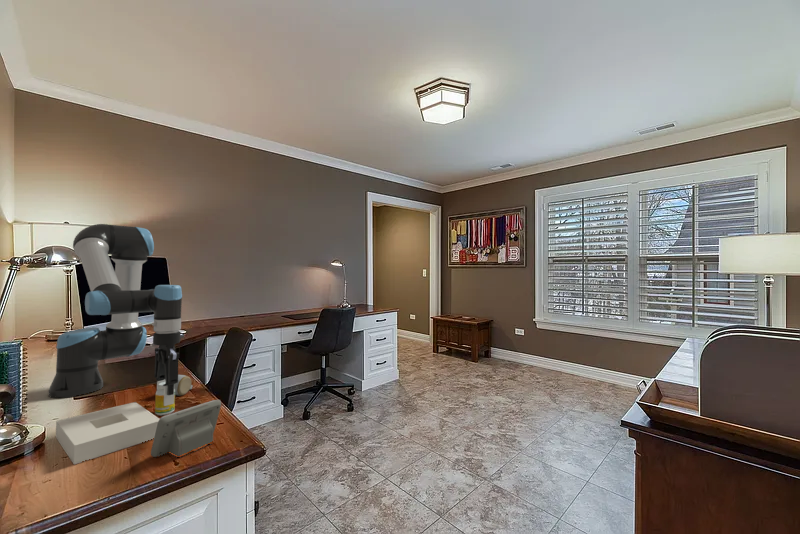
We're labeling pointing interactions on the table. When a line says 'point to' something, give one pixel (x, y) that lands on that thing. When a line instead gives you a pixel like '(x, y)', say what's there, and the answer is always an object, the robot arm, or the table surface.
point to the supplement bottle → (162, 402)
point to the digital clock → (186, 429)
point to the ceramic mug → (182, 385)
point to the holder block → (105, 431)
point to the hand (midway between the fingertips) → (165, 402)
